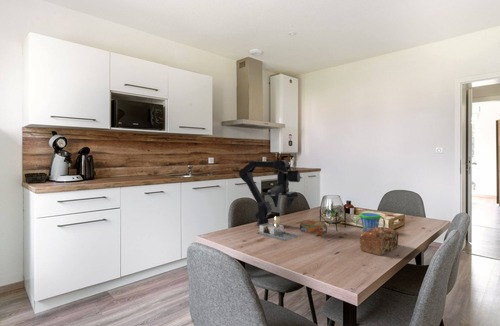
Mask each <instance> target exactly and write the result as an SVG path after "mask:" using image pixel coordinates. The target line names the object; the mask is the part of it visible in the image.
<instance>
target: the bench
mask: <svg viewBox="0 0 500 326" xmlns="http://www.w3.org/2000/svg"><path fill="white" fill-rule="evenodd" d="M271 226H272V227H273V226H274V222H273V223H272V222H268V223H266V224H261V225H260V226H259V232H256V234H257V235H261V236H264V237H268V238H271V239H275V240H278V241H279V240H280V241H283V242H285V241H289V240H292V239H295V238H299V237H301V236H302V235H300V234H297V233H292V232H288V231H284V233H282V234H278V235H271V234H270V233H268V227H271Z"/></svg>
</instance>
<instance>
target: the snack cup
mask: <svg viewBox="0 0 500 326" xmlns="http://www.w3.org/2000/svg"><path fill="white" fill-rule="evenodd" d="M359 218H360V220H361V224H362V226H361V227H362V231H363V233H364V232H365V231H367V230H370V229H372V228H375V227H379V224H380V220H381V219H382V220H383V221H382V223H383V225H382V227H386V220H385V218H384V217H383V216H382V215H381V214H378V213H373V212H362V213H360V214H358V215H357V216H356V219H355V225H356V226H358V219H359Z"/></svg>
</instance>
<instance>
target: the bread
mask: <svg viewBox="0 0 500 326" xmlns="http://www.w3.org/2000/svg"><path fill="white" fill-rule="evenodd" d="M359 244H360V245H359V246H360V250H361V251H363V252H364V253H365V252H366V253H368V254H371V255H375V256H382V255H384V254H387V253H389V252H392V251H393V250H394V249H396V248H397V247H398V244H399V233H398V231H397V230H395V229H392V228H390V227H386V226H385V227H383V226H378V227H375V228H372V229H370V230H367V231H365V232H364V231H363V233H361V234H360V236H359Z"/></svg>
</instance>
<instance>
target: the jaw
mask: <svg viewBox="0 0 500 326" xmlns="http://www.w3.org/2000/svg"><path fill="white" fill-rule="evenodd" d="M273 217H274V218H273V227H270V234H271V235H278V234H282V233H284V232H285V231H284V230H285V229H284V227H285V226H284V225H282V224H280V216H273Z"/></svg>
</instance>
